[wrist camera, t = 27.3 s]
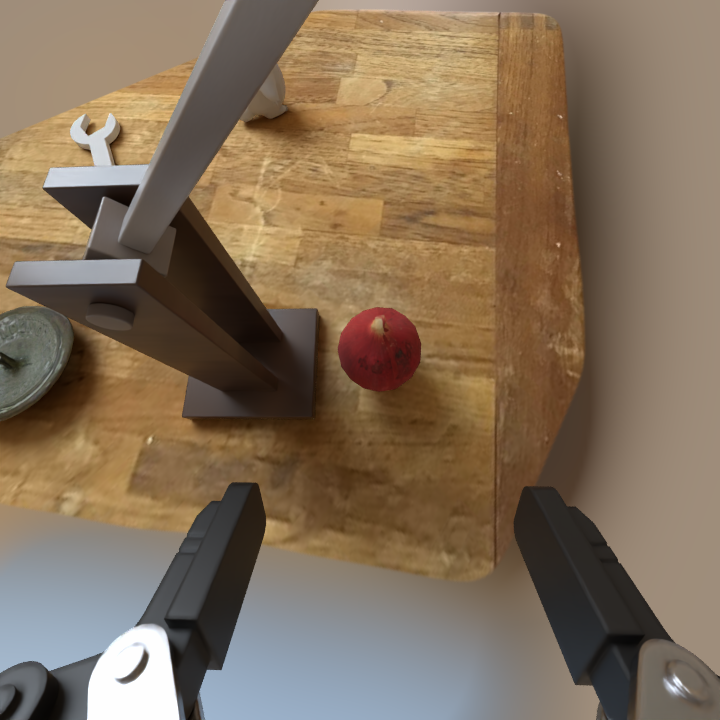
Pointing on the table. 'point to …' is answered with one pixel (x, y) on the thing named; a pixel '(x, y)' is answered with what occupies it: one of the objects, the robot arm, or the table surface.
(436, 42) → the table surface
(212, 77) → the silver and black bar
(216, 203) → the table surface
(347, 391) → the table surface
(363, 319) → the onion
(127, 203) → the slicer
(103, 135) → the wrench
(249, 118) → the figurine
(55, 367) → the lid
